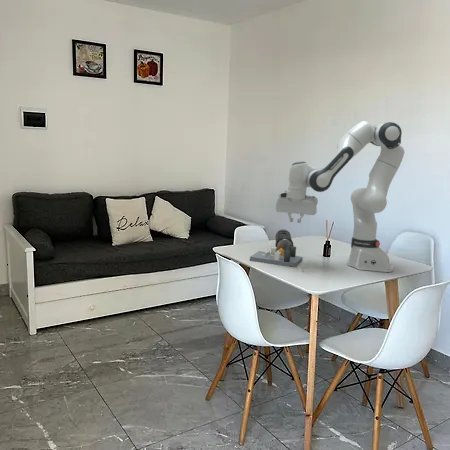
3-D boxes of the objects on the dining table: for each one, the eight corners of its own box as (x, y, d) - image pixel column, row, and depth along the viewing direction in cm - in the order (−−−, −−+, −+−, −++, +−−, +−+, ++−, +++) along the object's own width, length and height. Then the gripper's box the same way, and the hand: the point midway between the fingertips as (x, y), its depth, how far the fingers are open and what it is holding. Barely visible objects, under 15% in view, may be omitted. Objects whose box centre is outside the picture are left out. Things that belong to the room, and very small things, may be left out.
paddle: (283, 256, 237) (284, 248, 236) (281, 258, 233) (281, 249, 232) (279, 255, 238) (279, 247, 237) (276, 257, 234) (277, 249, 233)
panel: (302, 260, 238) (303, 247, 237) (295, 267, 226) (296, 253, 224) (258, 254, 247) (259, 241, 246) (249, 260, 235) (250, 247, 233)
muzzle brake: (290, 246, 269) (291, 229, 267) (293, 257, 241) (294, 238, 239) (274, 245, 269) (275, 228, 268) (274, 256, 242) (276, 237, 240)
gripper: (319, 195, 226) (317, 223, 228) (279, 192, 233) (277, 219, 236) (316, 197, 220) (314, 225, 223) (275, 193, 228) (274, 221, 230)
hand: (295, 222), depth 229 cm, fingers open, 3 cm apart
